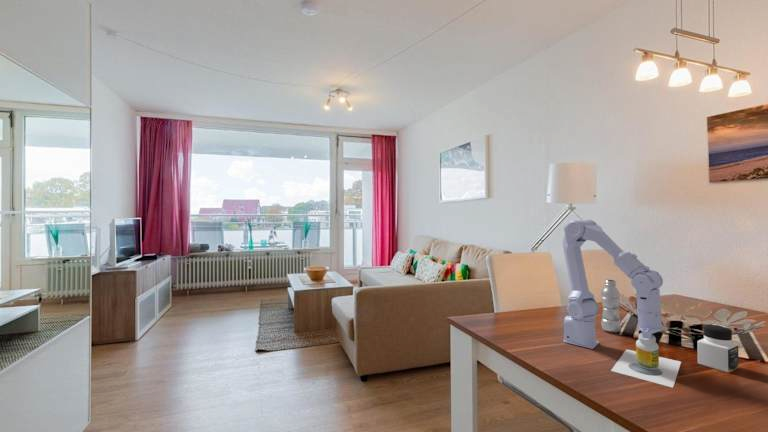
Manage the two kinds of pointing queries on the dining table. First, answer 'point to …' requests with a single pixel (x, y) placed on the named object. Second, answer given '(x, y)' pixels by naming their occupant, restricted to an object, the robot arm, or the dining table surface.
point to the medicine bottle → (718, 348)
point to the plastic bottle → (610, 307)
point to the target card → (661, 375)
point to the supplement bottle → (647, 352)
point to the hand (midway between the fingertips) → (652, 356)
